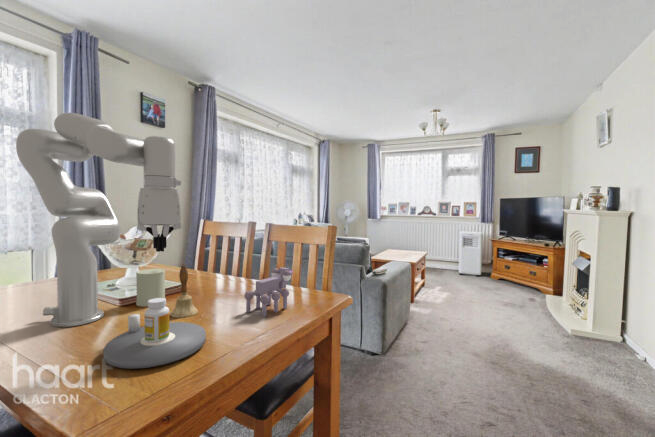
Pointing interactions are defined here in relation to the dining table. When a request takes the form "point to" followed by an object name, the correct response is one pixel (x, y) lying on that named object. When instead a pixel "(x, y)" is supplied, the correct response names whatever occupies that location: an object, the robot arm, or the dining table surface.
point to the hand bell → (184, 298)
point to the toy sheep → (270, 290)
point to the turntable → (153, 345)
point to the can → (150, 285)
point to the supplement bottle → (156, 321)
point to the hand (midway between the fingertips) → (159, 250)
